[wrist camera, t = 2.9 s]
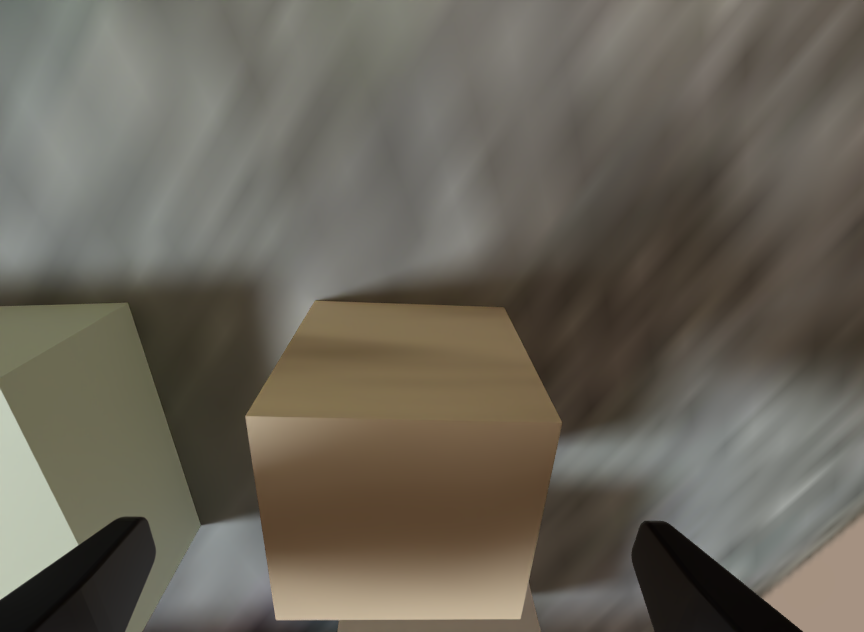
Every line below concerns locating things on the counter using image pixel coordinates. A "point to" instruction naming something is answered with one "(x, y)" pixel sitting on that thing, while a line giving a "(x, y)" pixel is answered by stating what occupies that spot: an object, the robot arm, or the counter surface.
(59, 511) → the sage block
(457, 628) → the grey cube
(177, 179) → the counter surface
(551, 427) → the maple cube
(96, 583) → the robot arm
